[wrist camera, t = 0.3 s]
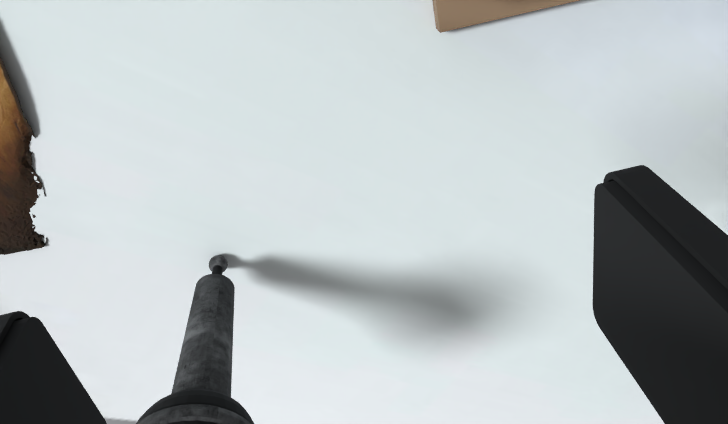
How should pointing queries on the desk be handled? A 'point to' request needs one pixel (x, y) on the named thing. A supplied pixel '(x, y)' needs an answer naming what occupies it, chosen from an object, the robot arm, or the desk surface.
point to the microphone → (204, 360)
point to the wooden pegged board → (483, 11)
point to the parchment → (15, 174)
